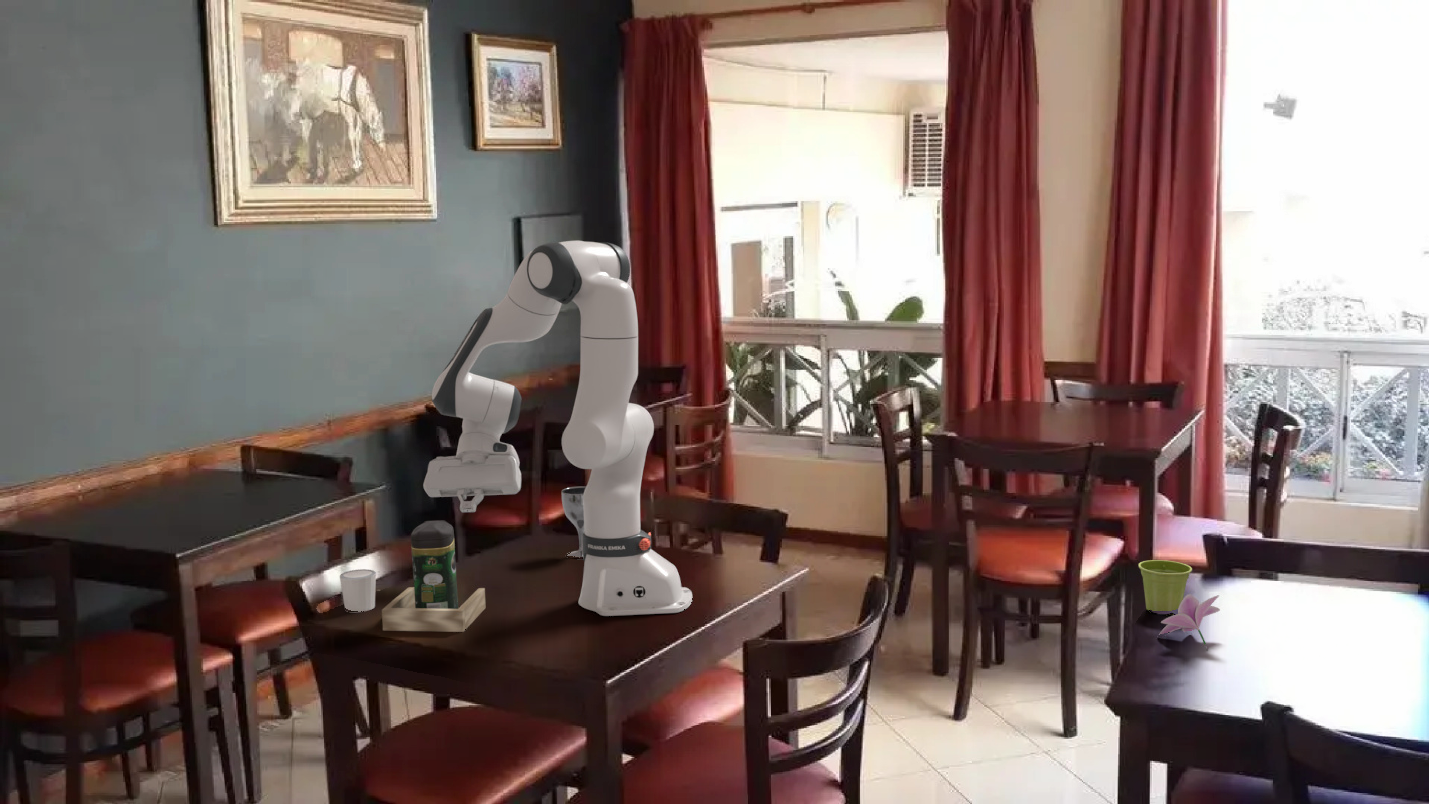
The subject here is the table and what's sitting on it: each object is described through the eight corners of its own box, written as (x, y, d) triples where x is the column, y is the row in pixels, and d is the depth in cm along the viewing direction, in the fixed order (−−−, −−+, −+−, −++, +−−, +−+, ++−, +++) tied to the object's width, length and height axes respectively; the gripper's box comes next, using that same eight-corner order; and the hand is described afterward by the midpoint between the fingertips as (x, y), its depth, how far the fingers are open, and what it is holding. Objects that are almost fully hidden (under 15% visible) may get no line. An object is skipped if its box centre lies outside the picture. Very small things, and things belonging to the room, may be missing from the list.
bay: (485, 607, 240) (484, 588, 239) (463, 631, 226) (462, 610, 226) (409, 606, 242) (408, 587, 241) (383, 630, 228) (381, 609, 227)
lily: (1230, 643, 215) (1209, 591, 218) (1246, 639, 204) (1223, 583, 207) (1163, 663, 216) (1143, 611, 219) (1175, 660, 205) (1153, 605, 208)
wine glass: (564, 551, 281) (561, 487, 279) (599, 549, 282) (596, 485, 279) (563, 560, 273) (561, 494, 271) (599, 558, 274) (597, 493, 272)
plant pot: (1145, 600, 237) (1146, 557, 235) (1196, 608, 231) (1197, 564, 230) (1130, 613, 229) (1132, 568, 228) (1182, 622, 224) (1184, 576, 222)
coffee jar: (420, 610, 239) (414, 518, 236) (461, 609, 240) (456, 516, 237) (411, 626, 230) (406, 530, 227) (454, 625, 230) (449, 528, 227)
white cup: (383, 602, 245) (381, 568, 244) (370, 613, 238) (368, 578, 237) (350, 602, 246) (347, 568, 244) (336, 613, 239) (333, 578, 238)
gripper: (425, 449, 259) (414, 504, 251) (519, 445, 257) (511, 500, 249) (434, 465, 264) (423, 520, 256) (527, 462, 262) (518, 517, 254)
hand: (467, 510), depth 252 cm, fingers closed
